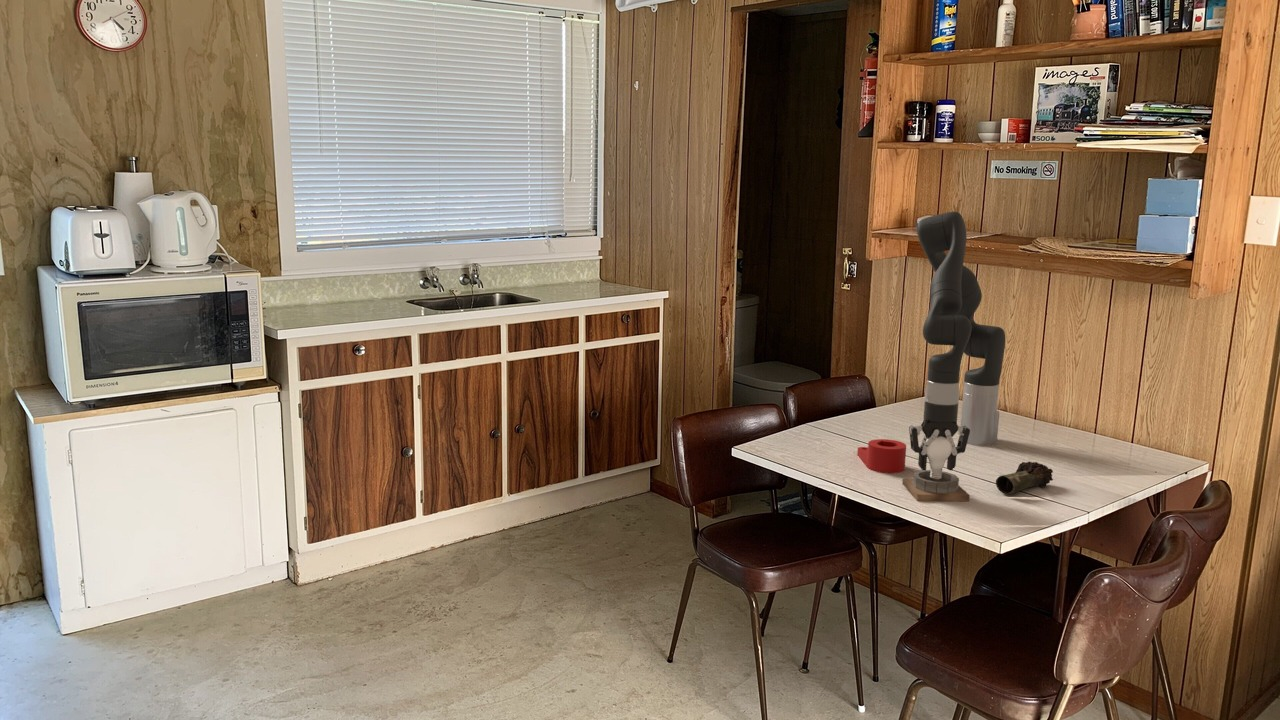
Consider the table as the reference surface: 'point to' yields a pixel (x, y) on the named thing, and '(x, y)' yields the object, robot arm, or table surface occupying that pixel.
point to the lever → (883, 455)
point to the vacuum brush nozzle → (1024, 478)
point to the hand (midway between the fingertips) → (936, 469)
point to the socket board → (933, 495)
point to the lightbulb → (938, 456)
